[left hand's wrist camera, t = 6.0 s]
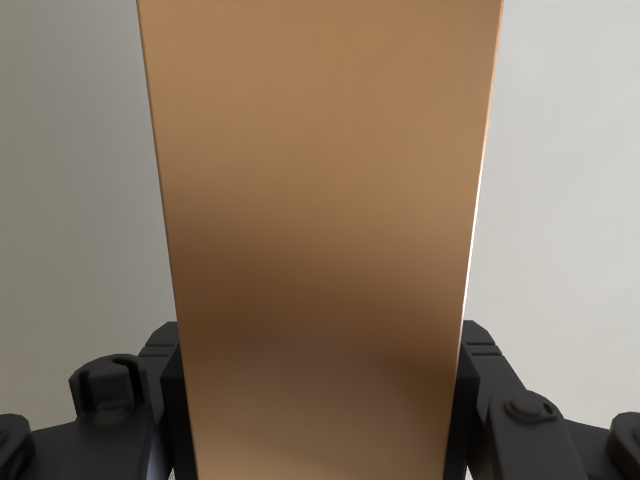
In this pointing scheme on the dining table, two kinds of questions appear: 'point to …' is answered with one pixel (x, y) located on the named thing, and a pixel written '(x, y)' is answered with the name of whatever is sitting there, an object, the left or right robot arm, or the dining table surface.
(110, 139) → the dining table surface
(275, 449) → the bar
